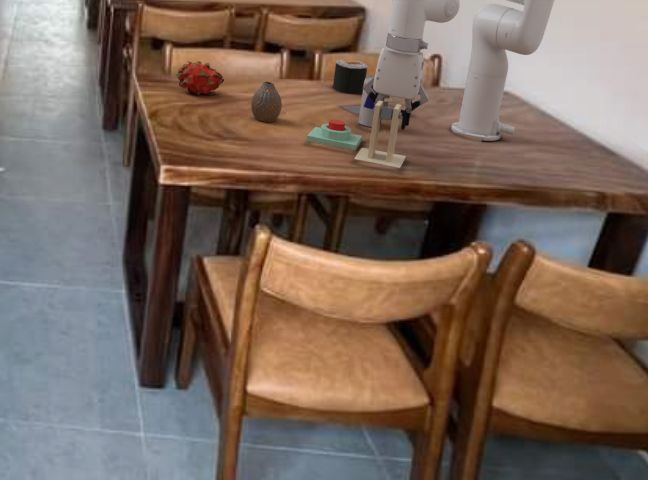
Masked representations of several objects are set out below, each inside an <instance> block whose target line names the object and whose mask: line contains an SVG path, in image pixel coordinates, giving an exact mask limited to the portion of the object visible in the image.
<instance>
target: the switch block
mask: <svg viewBox="0 0 648 480" xmlns="http://www.w3.org/2000/svg"><path fill="white" fill-rule="evenodd" d="M328 125H329V122H328V123H323V124H321V125H320V126H319V127H318V126H315V127H313V128H312V129H311V131H310V132H309V133H308V134H307V135H306V142H309V143H316V144H319V145H320V144H321V145H326V146H330V147H336V148H341V149H345V150H350V151H356V150H357V149H358V147H359V146H360V144H361V143H362V142H363V135H360V134H354V133H352V129H351V128H350V127H349V126H346V125H345V128H344V131H336V130H331V129H329V128H328Z"/></svg>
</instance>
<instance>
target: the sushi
mask: <svg viewBox="0 0 648 480" xmlns="http://www.w3.org/2000/svg"><path fill="white" fill-rule="evenodd" d="M368 67H369V65H367V63H365V62H364V61H360V60H355V59H337V60H335V66H334V75H333V83H332V89H334V90H336V91H338V92H340V93H345V94H354V95H355V94H357V95H360V94H361V95H362V94H363V86H364V81H365V79H366V77H367V73H368Z"/></svg>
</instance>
